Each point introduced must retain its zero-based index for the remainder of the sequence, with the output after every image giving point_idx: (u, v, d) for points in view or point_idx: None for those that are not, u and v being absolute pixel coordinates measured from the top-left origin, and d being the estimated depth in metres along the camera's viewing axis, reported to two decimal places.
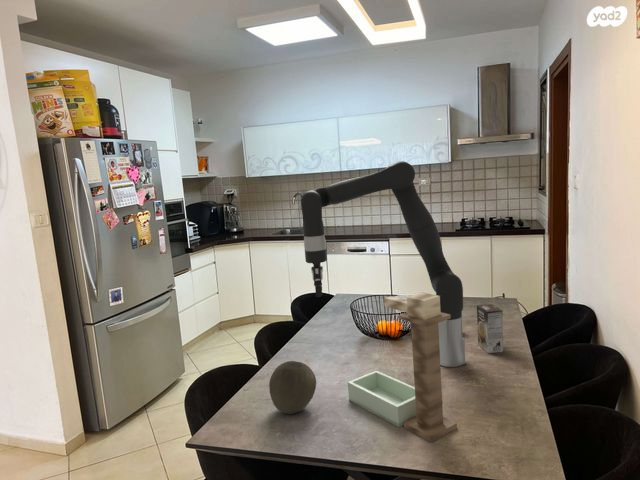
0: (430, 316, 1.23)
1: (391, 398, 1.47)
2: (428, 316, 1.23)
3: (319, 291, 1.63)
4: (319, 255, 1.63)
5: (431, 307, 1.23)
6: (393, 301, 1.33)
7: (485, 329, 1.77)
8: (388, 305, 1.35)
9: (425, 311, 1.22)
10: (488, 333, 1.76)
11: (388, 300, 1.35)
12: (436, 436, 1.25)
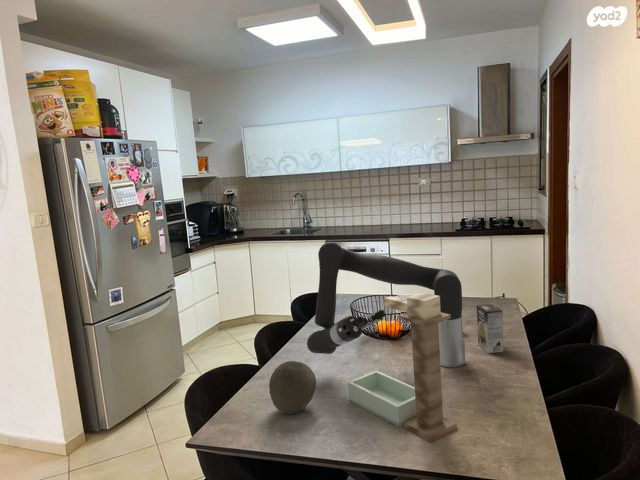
0: (430, 316, 1.23)
1: (391, 398, 1.47)
2: (428, 316, 1.23)
3: (355, 321, 1.42)
4: None
5: (431, 307, 1.23)
6: (393, 301, 1.33)
7: (485, 329, 1.77)
8: (388, 305, 1.35)
9: (425, 311, 1.22)
10: (488, 333, 1.76)
11: (388, 300, 1.35)
12: (436, 436, 1.25)
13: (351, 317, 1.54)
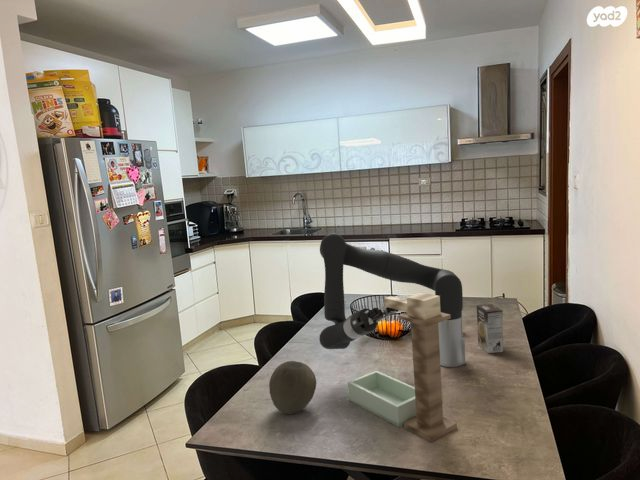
0: (430, 316, 1.23)
1: (391, 398, 1.47)
2: (428, 316, 1.23)
3: (370, 312, 1.36)
4: None
5: (431, 307, 1.23)
6: (393, 301, 1.33)
7: (485, 329, 1.77)
8: (388, 305, 1.35)
9: (425, 311, 1.22)
10: (488, 333, 1.76)
11: (388, 300, 1.35)
12: (436, 436, 1.25)
13: (365, 309, 1.47)
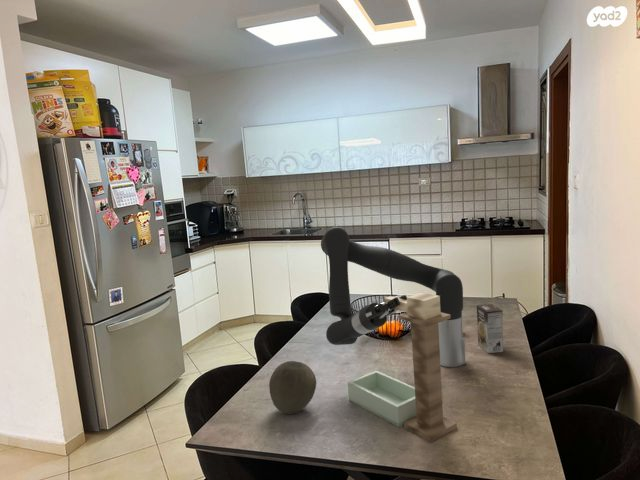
0: (430, 316, 1.23)
1: (391, 398, 1.47)
2: (428, 316, 1.23)
3: (390, 303, 1.32)
4: (361, 315, 1.42)
5: (431, 307, 1.23)
6: None
7: (485, 329, 1.77)
8: None
9: (425, 311, 1.22)
10: (488, 333, 1.76)
11: (388, 300, 1.35)
12: (436, 436, 1.25)
13: (374, 304, 1.43)
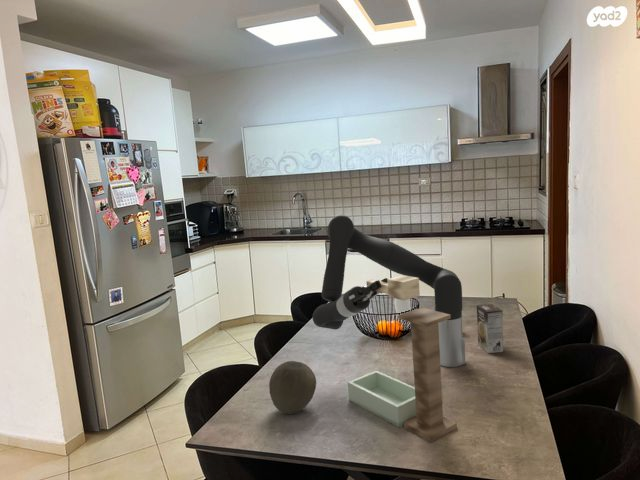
0: (409, 297, 1.29)
1: (391, 398, 1.47)
2: (407, 297, 1.28)
3: (372, 285, 1.38)
4: (345, 298, 1.48)
5: (410, 288, 1.28)
6: None
7: (485, 329, 1.77)
8: None
9: (404, 292, 1.27)
10: (488, 333, 1.76)
11: (370, 283, 1.40)
12: (436, 436, 1.25)
13: (358, 287, 1.48)
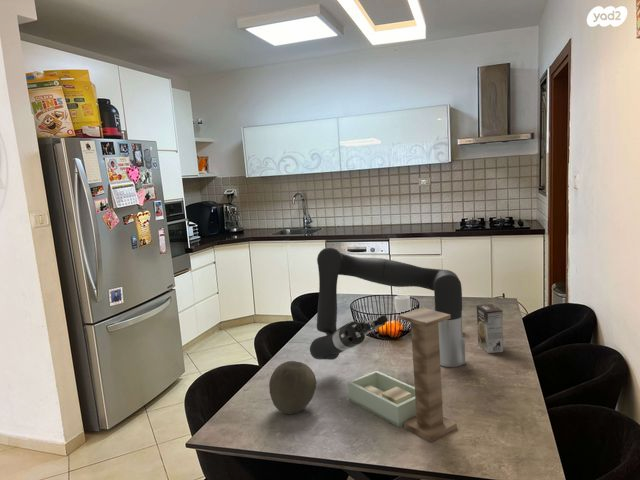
0: None
1: None
2: None
3: (357, 326, 1.42)
4: None
5: None
6: None
7: (485, 329, 1.77)
8: None
9: None
10: (488, 333, 1.76)
11: None
12: (436, 436, 1.25)
13: (353, 323, 1.53)
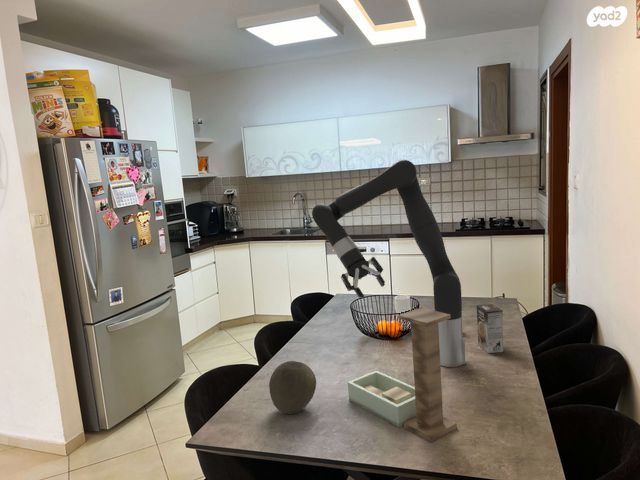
0: None
1: None
2: None
3: (357, 293, 1.62)
4: (343, 260, 1.65)
5: None
6: None
7: (485, 329, 1.77)
8: None
9: None
10: (488, 333, 1.76)
11: None
12: (436, 436, 1.25)
13: (358, 260, 1.64)
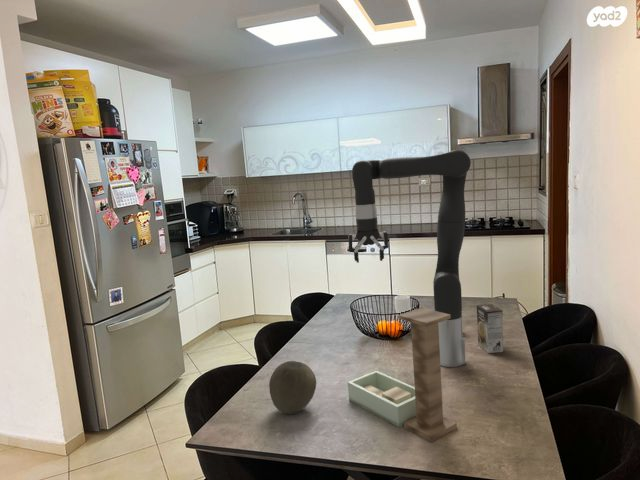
0: None
1: None
2: None
3: (354, 257, 1.72)
4: (357, 223, 1.70)
5: None
6: None
7: (485, 329, 1.77)
8: None
9: None
10: (488, 333, 1.76)
11: None
12: (436, 436, 1.25)
13: (369, 230, 1.68)
